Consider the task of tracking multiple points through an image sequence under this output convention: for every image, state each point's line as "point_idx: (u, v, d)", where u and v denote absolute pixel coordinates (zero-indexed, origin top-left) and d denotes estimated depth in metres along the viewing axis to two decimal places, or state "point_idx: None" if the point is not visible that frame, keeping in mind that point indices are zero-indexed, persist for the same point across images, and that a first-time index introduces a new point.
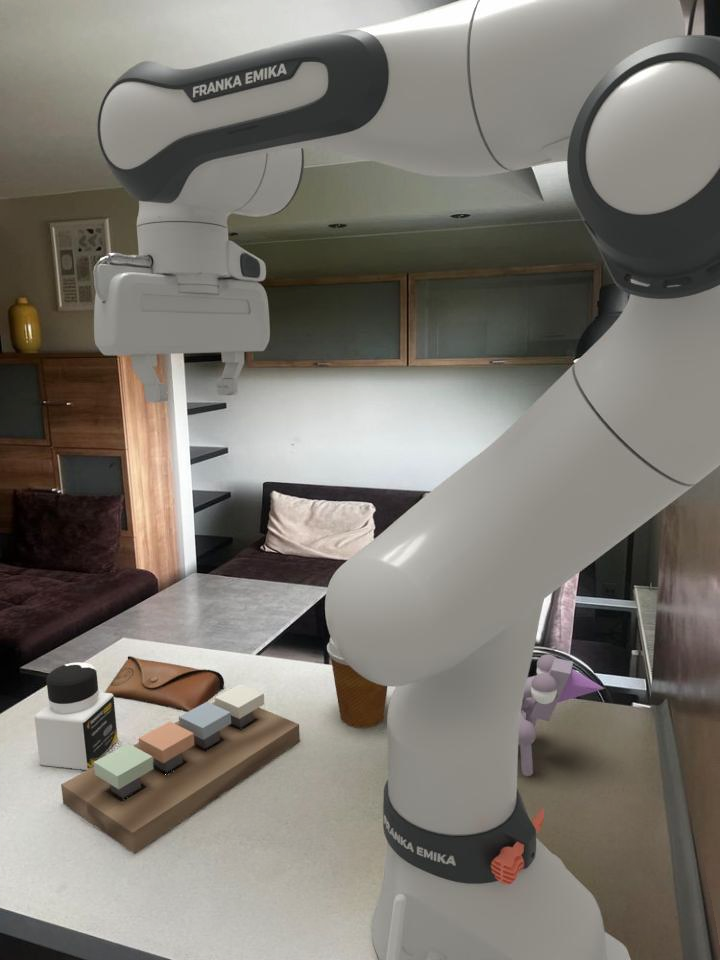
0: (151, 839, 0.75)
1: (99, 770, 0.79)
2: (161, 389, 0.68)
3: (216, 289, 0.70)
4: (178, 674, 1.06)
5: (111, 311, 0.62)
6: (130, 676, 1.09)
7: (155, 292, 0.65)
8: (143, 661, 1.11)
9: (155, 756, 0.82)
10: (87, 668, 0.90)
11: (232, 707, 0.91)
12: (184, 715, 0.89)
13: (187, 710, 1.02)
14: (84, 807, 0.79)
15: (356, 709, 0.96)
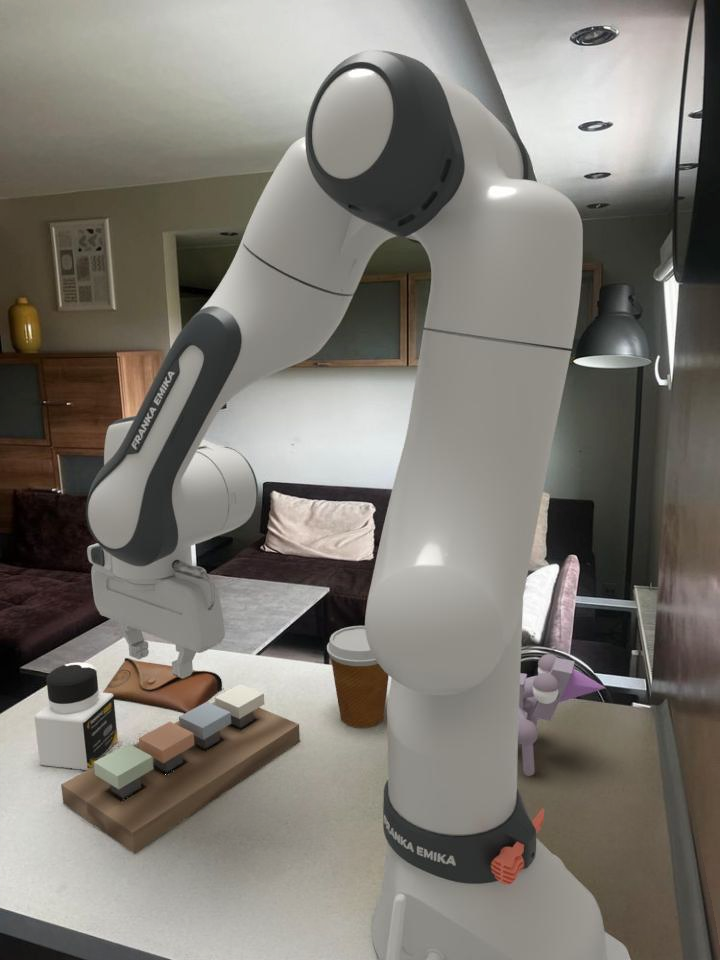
0: (151, 839, 0.75)
1: (99, 770, 0.79)
2: None
3: None
4: None
5: (219, 613, 0.76)
6: (127, 678, 1.08)
7: None
8: (140, 663, 1.10)
9: (155, 756, 0.82)
10: (87, 668, 0.90)
11: (232, 707, 0.91)
12: (184, 715, 0.89)
13: (185, 712, 1.02)
14: (84, 807, 0.79)
15: (356, 709, 0.96)
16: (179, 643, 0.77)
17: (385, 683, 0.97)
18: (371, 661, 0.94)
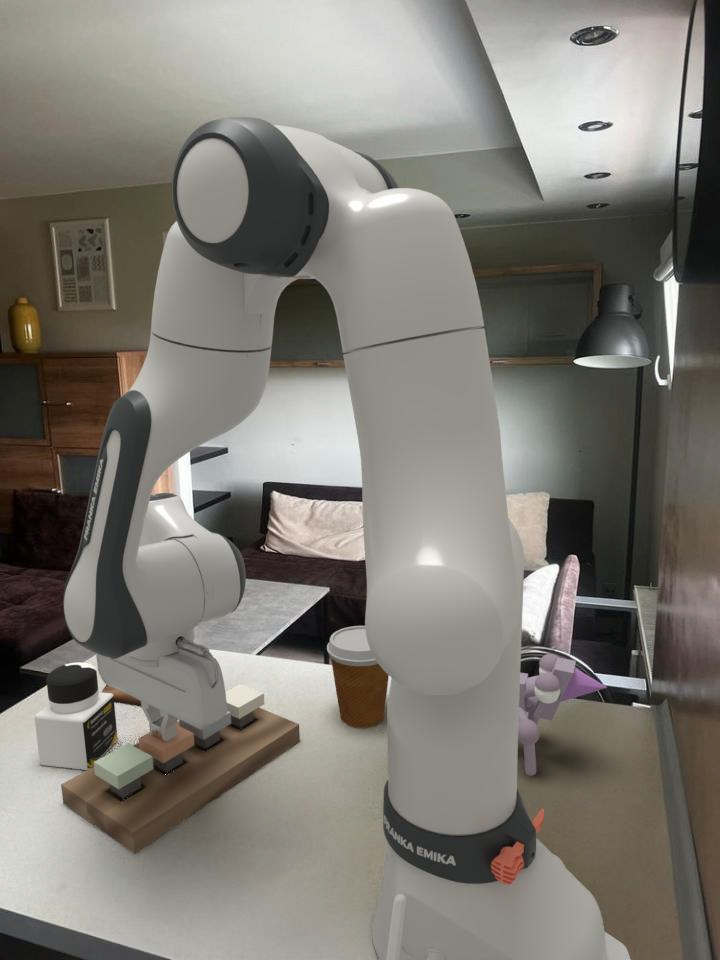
0: (151, 839, 0.75)
1: (99, 770, 0.79)
2: None
3: None
4: None
5: (222, 689, 0.78)
6: None
7: None
8: None
9: (155, 756, 0.82)
10: (87, 668, 0.90)
11: (232, 707, 0.91)
12: None
13: None
14: (84, 807, 0.79)
15: (356, 709, 0.96)
16: (182, 719, 0.78)
17: (385, 683, 0.97)
18: (371, 661, 0.94)
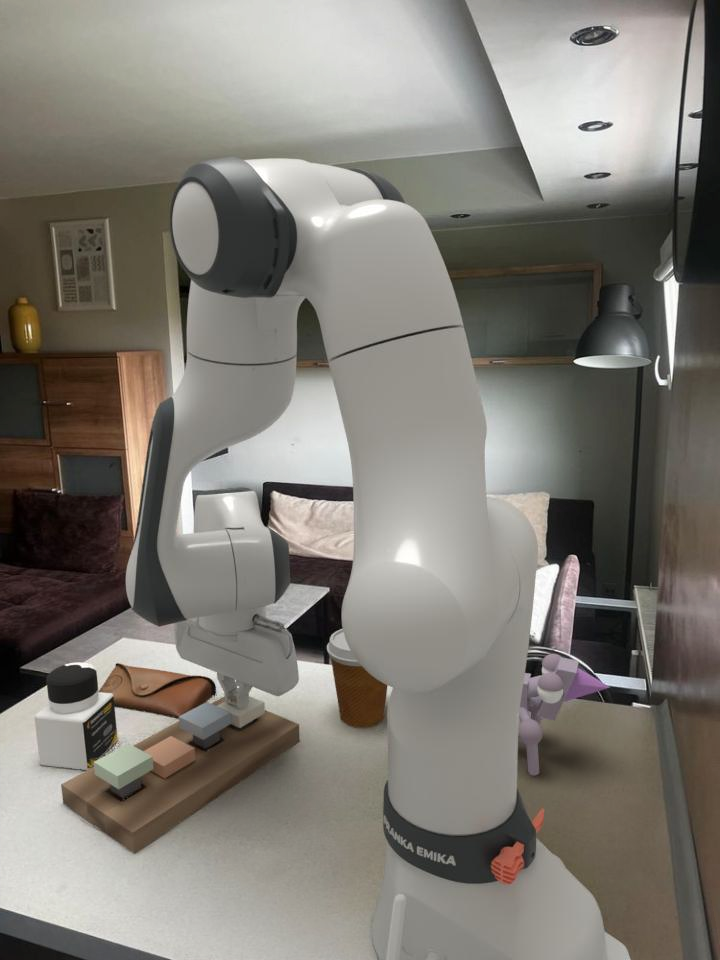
0: (151, 839, 0.75)
1: (99, 770, 0.79)
2: None
3: None
4: (169, 680, 1.04)
5: (295, 661, 0.87)
6: (119, 683, 1.06)
7: None
8: (132, 668, 1.08)
9: (157, 771, 0.83)
10: (87, 668, 0.90)
11: (232, 716, 0.92)
12: (184, 715, 0.89)
13: None
14: (84, 807, 0.79)
15: (356, 709, 0.96)
16: (259, 687, 0.88)
17: None
18: None
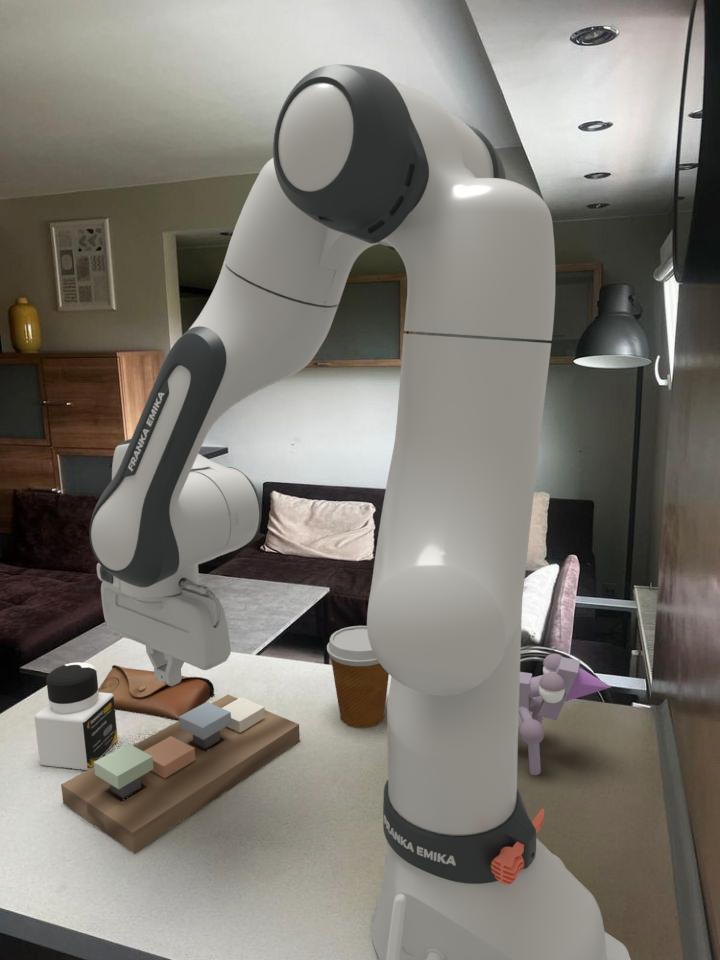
0: (151, 839, 0.75)
1: (99, 770, 0.79)
2: None
3: None
4: None
5: (225, 630, 0.77)
6: (116, 686, 1.06)
7: None
8: (129, 670, 1.08)
9: (157, 771, 0.83)
10: (87, 668, 0.90)
11: (232, 721, 0.92)
12: (184, 715, 0.89)
13: (178, 719, 1.00)
14: (84, 807, 0.79)
15: (356, 709, 0.96)
16: (186, 660, 0.78)
17: (385, 683, 0.97)
18: (371, 661, 0.94)
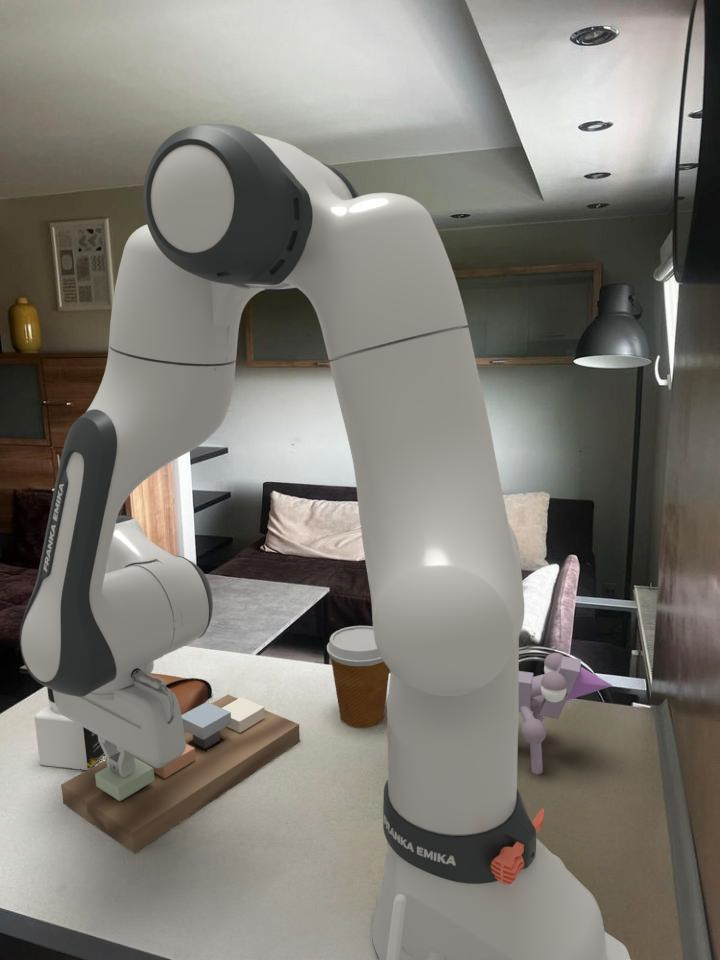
0: (151, 839, 0.75)
1: (101, 781, 0.79)
2: None
3: None
4: None
5: (180, 725, 0.73)
6: None
7: None
8: None
9: (157, 771, 0.83)
10: None
11: (232, 721, 0.92)
12: (184, 715, 0.89)
13: None
14: (84, 807, 0.79)
15: (356, 709, 0.96)
16: (138, 756, 0.74)
17: (385, 683, 0.97)
18: (371, 661, 0.94)
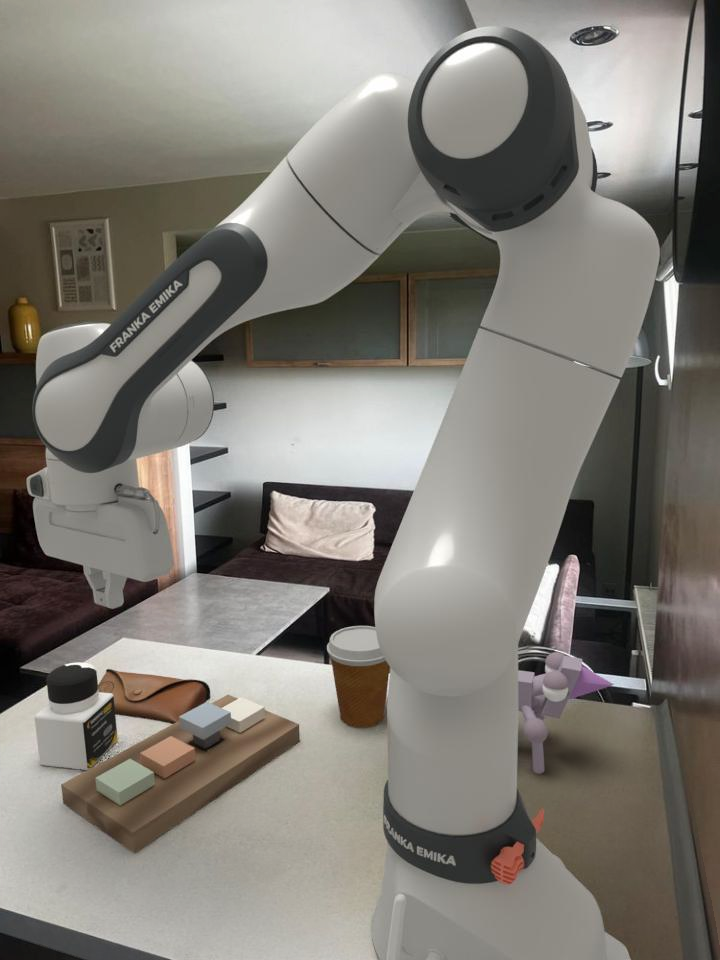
0: (151, 839, 0.75)
1: (101, 786, 0.79)
2: None
3: None
4: (163, 685, 1.03)
5: (167, 538, 0.69)
6: (111, 690, 1.05)
7: None
8: (124, 673, 1.07)
9: (157, 771, 0.83)
10: (87, 668, 0.90)
11: (232, 721, 0.92)
12: (184, 715, 0.89)
13: (175, 722, 0.99)
14: (84, 807, 0.79)
15: (356, 709, 0.96)
16: (124, 573, 0.70)
17: (385, 683, 0.97)
18: (371, 661, 0.94)
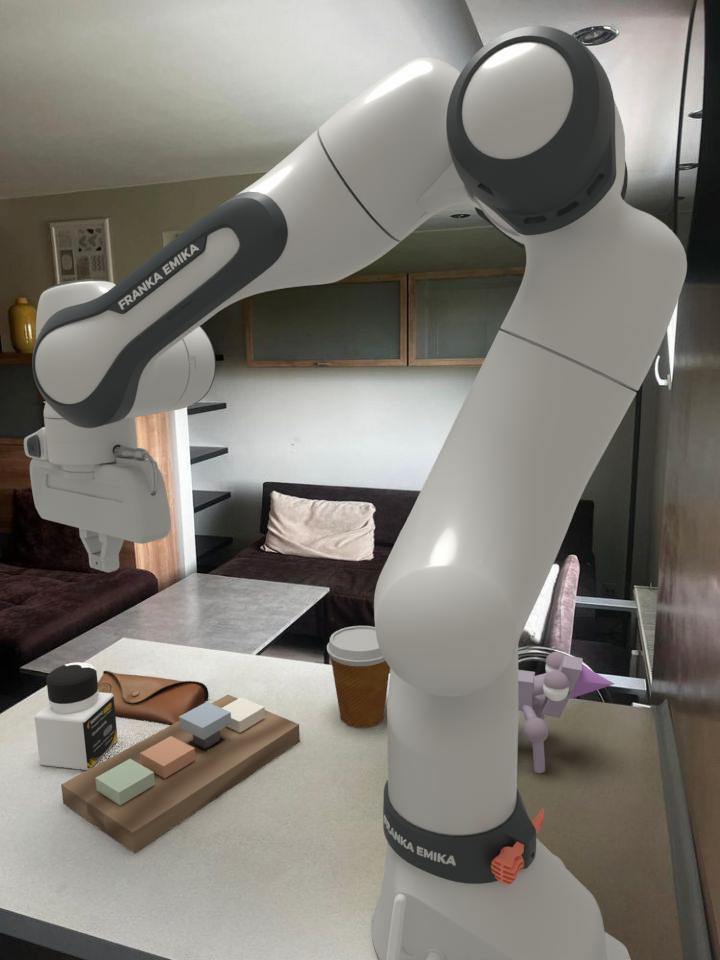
0: (151, 839, 0.75)
1: (101, 786, 0.79)
2: None
3: None
4: (161, 686, 1.03)
5: (165, 500, 0.69)
6: (108, 691, 1.04)
7: None
8: (121, 675, 1.06)
9: (157, 771, 0.83)
10: (87, 668, 0.90)
11: (232, 721, 0.92)
12: (184, 715, 0.89)
13: None
14: (84, 807, 0.79)
15: (356, 709, 0.96)
16: (120, 535, 0.69)
17: (385, 683, 0.97)
18: (371, 661, 0.94)
